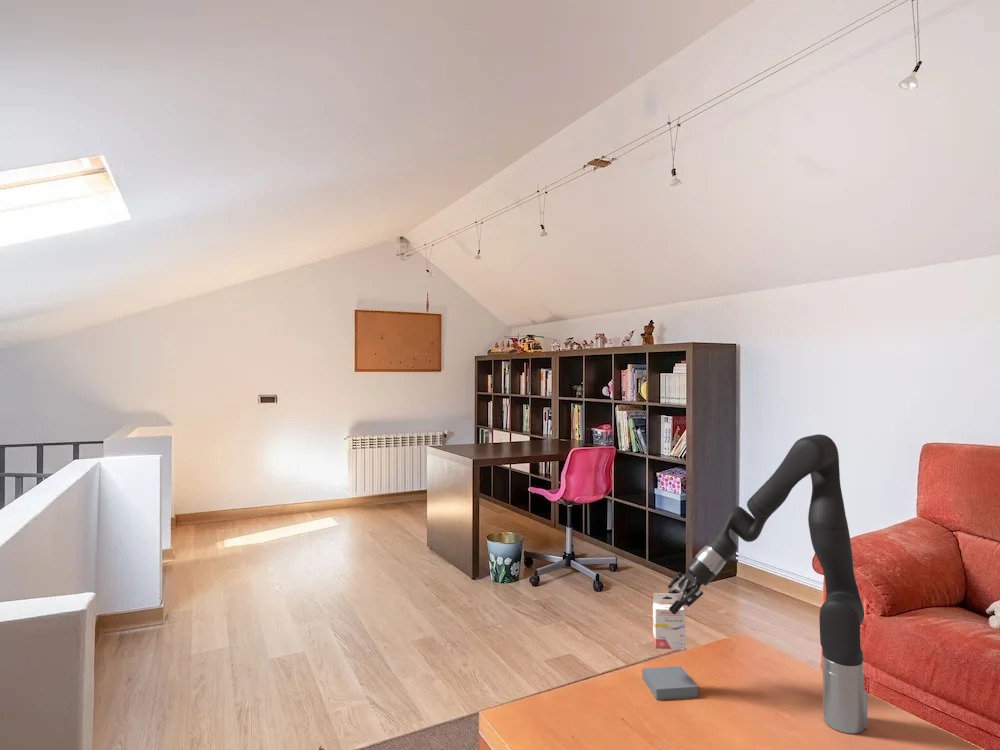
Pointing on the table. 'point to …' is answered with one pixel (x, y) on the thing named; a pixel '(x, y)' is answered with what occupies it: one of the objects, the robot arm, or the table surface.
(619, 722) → the table surface
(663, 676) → the slate plate
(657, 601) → the ink cartridge box
